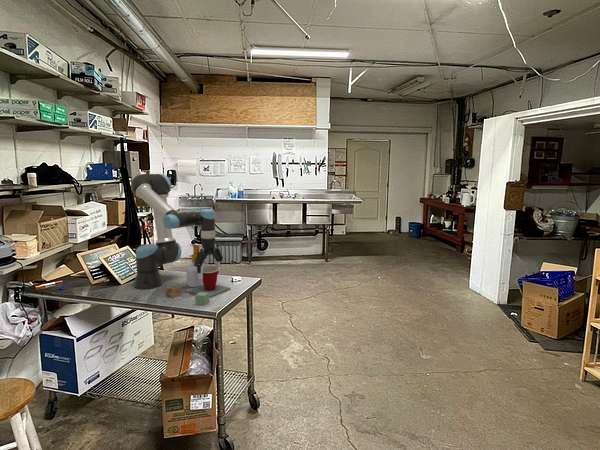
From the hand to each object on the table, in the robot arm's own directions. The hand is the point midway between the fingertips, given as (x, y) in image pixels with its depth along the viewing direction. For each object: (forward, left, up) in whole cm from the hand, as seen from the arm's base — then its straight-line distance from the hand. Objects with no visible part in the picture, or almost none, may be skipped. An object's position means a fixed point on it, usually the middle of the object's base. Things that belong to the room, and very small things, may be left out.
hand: (209, 275), depth 204 cm
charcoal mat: (0, 0, -9) cm, 9 cm away
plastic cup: (0, 0, -8) cm, 8 cm away
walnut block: (-11, -16, -9) cm, 21 cm away
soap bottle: (-15, +4, -9) cm, 18 cm away
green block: (+10, -16, -9) cm, 21 cm away
